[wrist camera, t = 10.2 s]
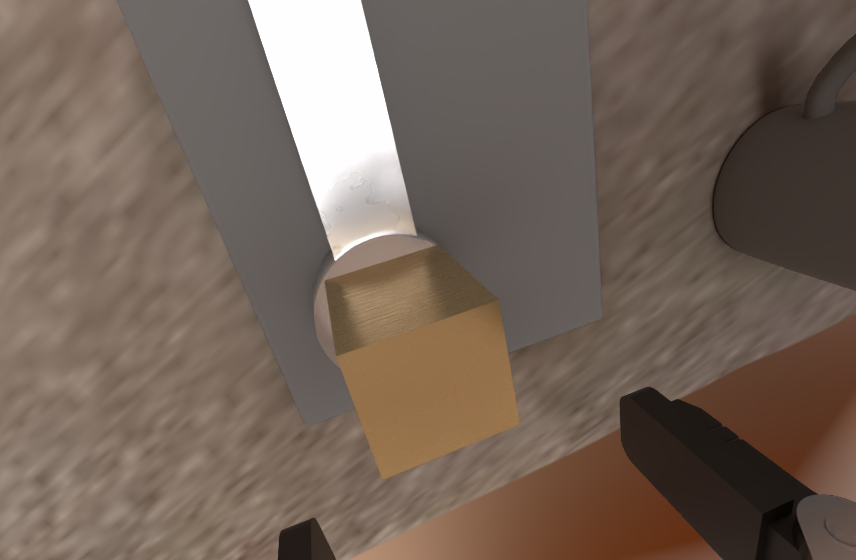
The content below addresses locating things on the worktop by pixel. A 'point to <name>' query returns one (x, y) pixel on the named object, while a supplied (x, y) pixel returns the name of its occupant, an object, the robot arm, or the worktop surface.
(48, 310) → the worktop surface
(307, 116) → the ratchet
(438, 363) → the wooden toy cube
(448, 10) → the mat
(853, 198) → the mug
